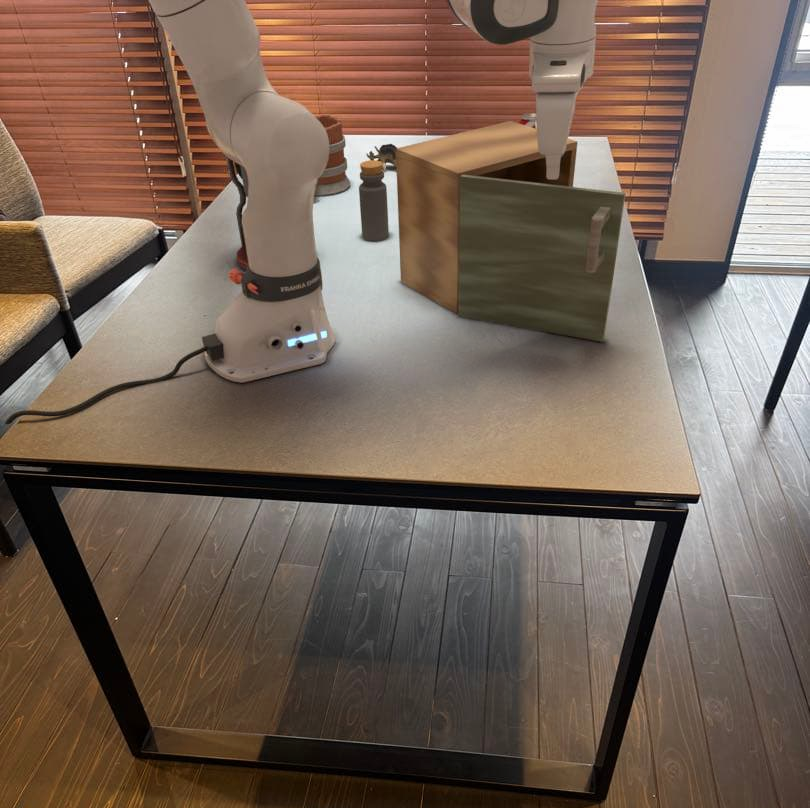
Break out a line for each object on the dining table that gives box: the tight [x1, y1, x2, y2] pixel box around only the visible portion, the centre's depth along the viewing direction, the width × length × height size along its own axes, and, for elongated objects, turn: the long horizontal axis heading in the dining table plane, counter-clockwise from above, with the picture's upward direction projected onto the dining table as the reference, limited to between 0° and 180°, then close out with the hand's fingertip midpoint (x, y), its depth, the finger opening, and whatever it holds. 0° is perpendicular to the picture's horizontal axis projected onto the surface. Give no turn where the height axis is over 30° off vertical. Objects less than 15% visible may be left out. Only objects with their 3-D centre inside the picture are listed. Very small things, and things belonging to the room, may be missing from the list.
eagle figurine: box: [365, 143, 398, 173], centre depth 206 cm, size 8×7×9 cm
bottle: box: [358, 159, 390, 242], centre depth 168 cm, size 6×6×15 cm
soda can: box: [518, 112, 537, 129], centre depth 201 cm, size 7×7×12 cm
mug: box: [314, 114, 351, 197], centre depth 192 cm, size 14×19×15 cm
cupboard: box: [395, 120, 578, 315], centre depth 147 cm, size 18×26×24 cm
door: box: [458, 175, 627, 343], centre depth 129 cm, size 7×26×24 cm, turn 65°
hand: (555, 166), depth 119 cm, fingers open, 8 cm apart
